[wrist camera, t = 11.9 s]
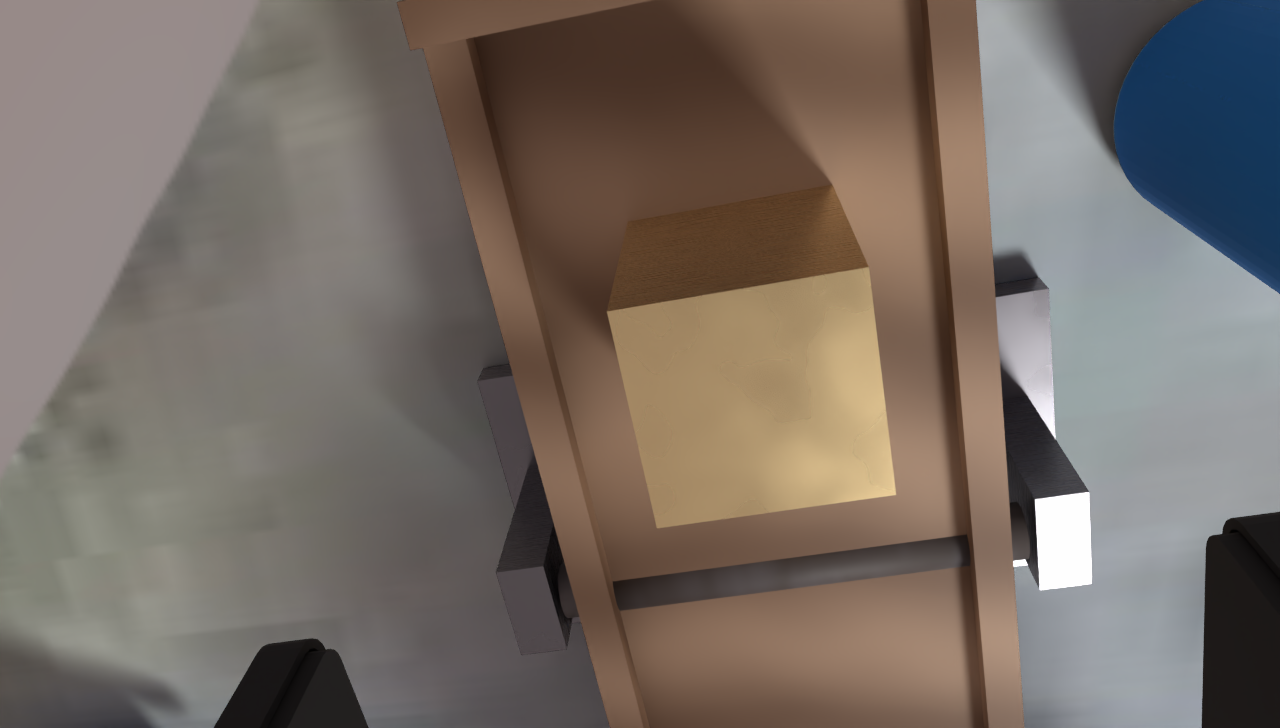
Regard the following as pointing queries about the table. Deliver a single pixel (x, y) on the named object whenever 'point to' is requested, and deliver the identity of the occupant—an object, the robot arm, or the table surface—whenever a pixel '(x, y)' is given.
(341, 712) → the robot arm
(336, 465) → the table surface
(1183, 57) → the beverage can
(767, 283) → the rider
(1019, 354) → the beam stand
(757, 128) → the beam
